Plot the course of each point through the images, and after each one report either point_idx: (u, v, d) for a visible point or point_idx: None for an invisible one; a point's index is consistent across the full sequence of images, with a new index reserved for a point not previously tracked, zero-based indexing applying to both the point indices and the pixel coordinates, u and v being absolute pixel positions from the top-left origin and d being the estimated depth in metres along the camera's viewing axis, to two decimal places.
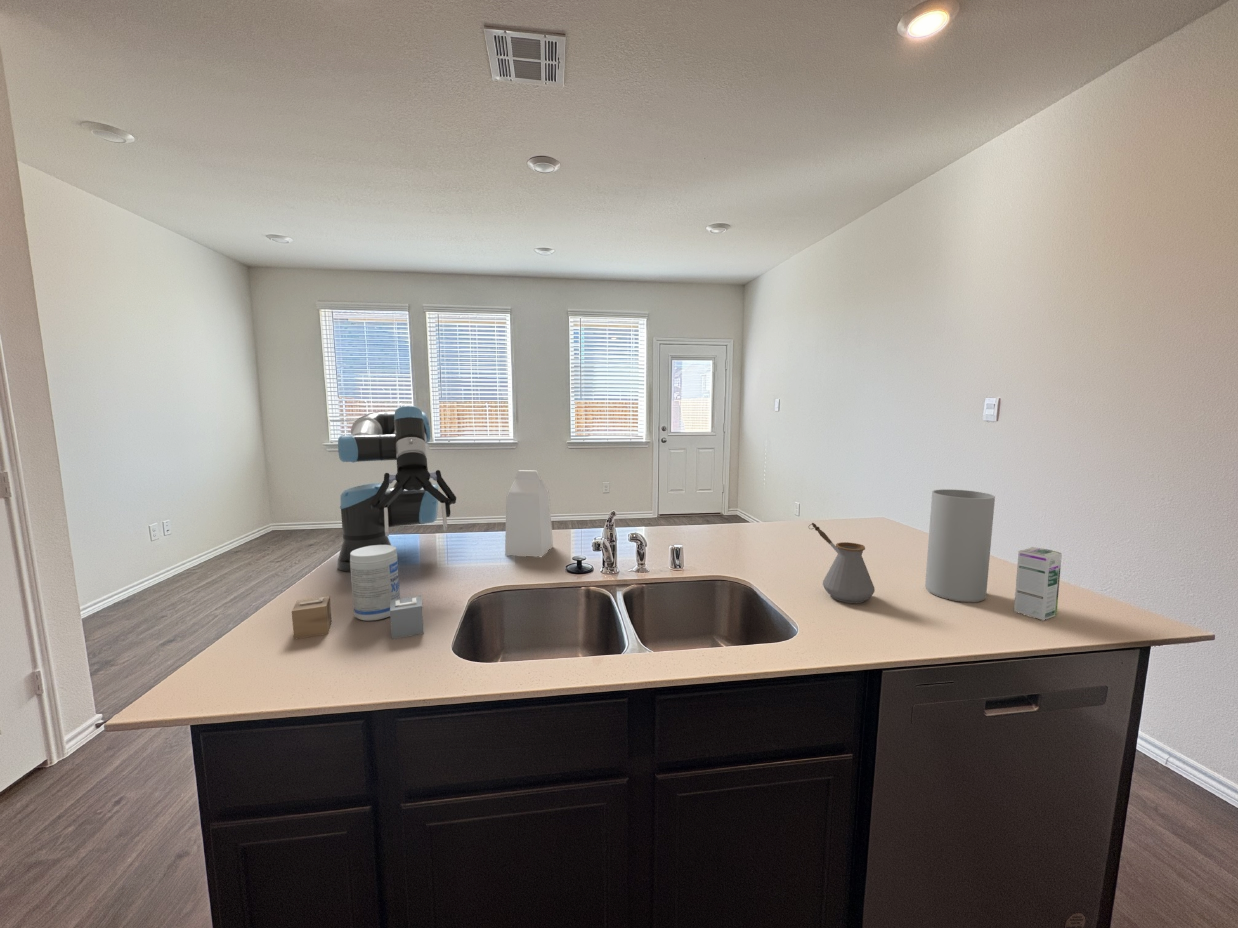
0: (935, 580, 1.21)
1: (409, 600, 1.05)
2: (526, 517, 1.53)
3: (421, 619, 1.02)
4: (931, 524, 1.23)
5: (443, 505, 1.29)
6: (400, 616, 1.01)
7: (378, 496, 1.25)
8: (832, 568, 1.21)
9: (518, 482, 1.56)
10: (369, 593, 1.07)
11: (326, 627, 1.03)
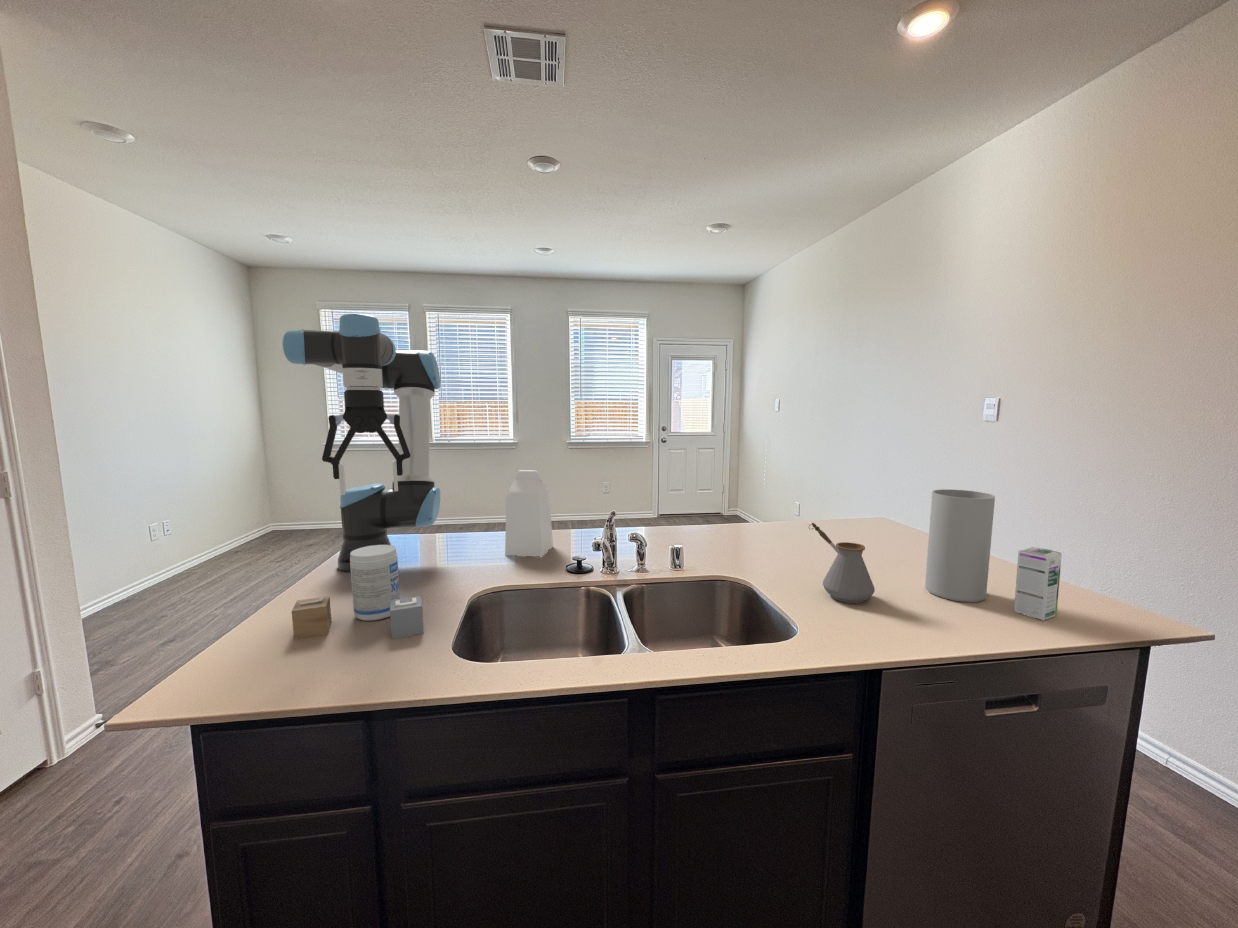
0: (935, 580, 1.21)
1: (409, 600, 1.05)
2: (526, 517, 1.53)
3: (421, 619, 1.02)
4: (931, 524, 1.23)
5: (394, 465, 1.10)
6: (400, 616, 1.01)
7: (328, 448, 1.04)
8: (832, 568, 1.21)
9: (518, 482, 1.56)
10: (369, 593, 1.08)
11: (326, 627, 1.03)
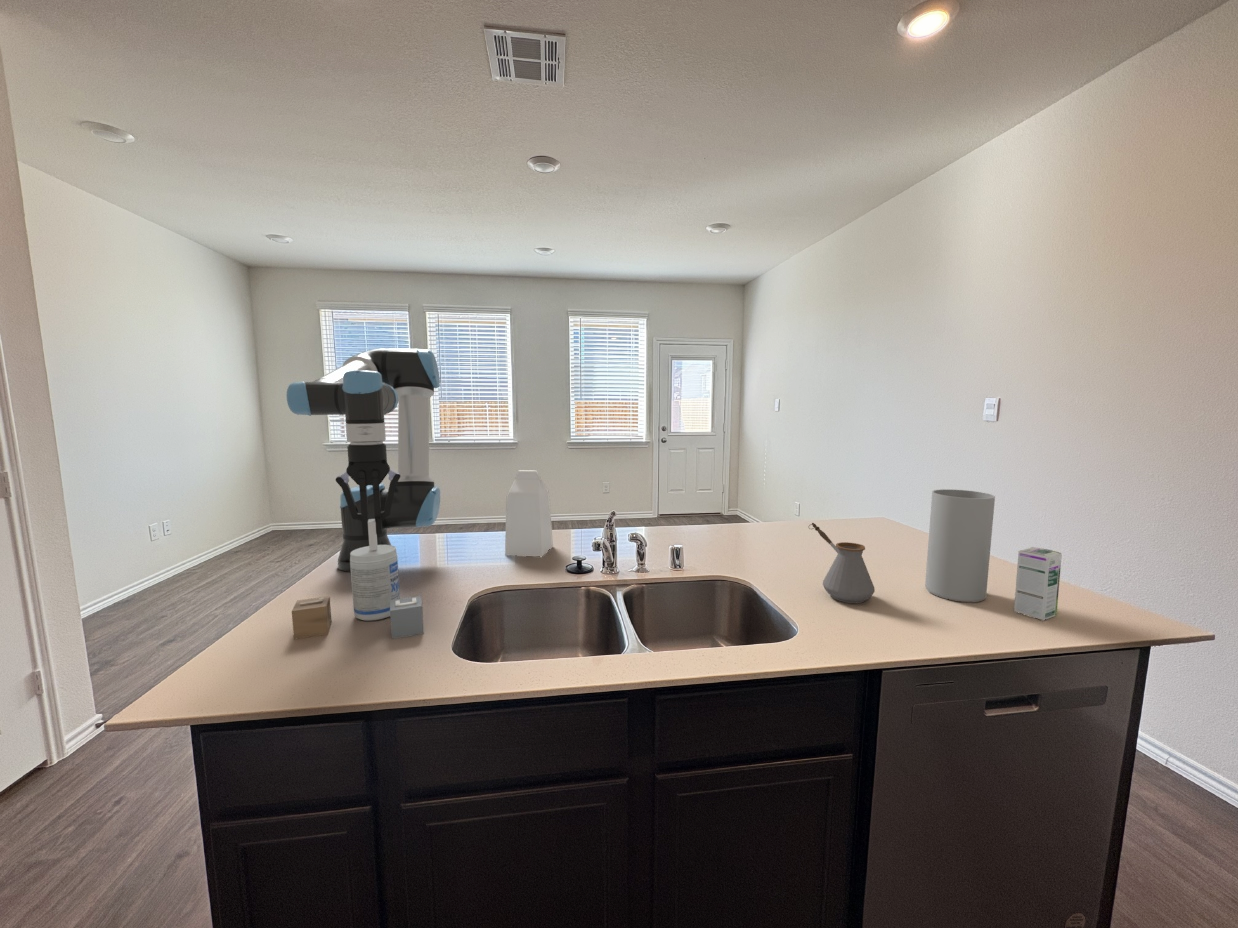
0: (935, 580, 1.21)
1: (409, 600, 1.05)
2: (526, 517, 1.53)
3: (421, 619, 1.02)
4: (931, 524, 1.23)
5: (373, 524, 1.09)
6: (400, 616, 1.01)
7: (352, 506, 1.07)
8: (832, 568, 1.21)
9: (518, 482, 1.56)
10: (369, 593, 1.07)
11: (326, 627, 1.03)
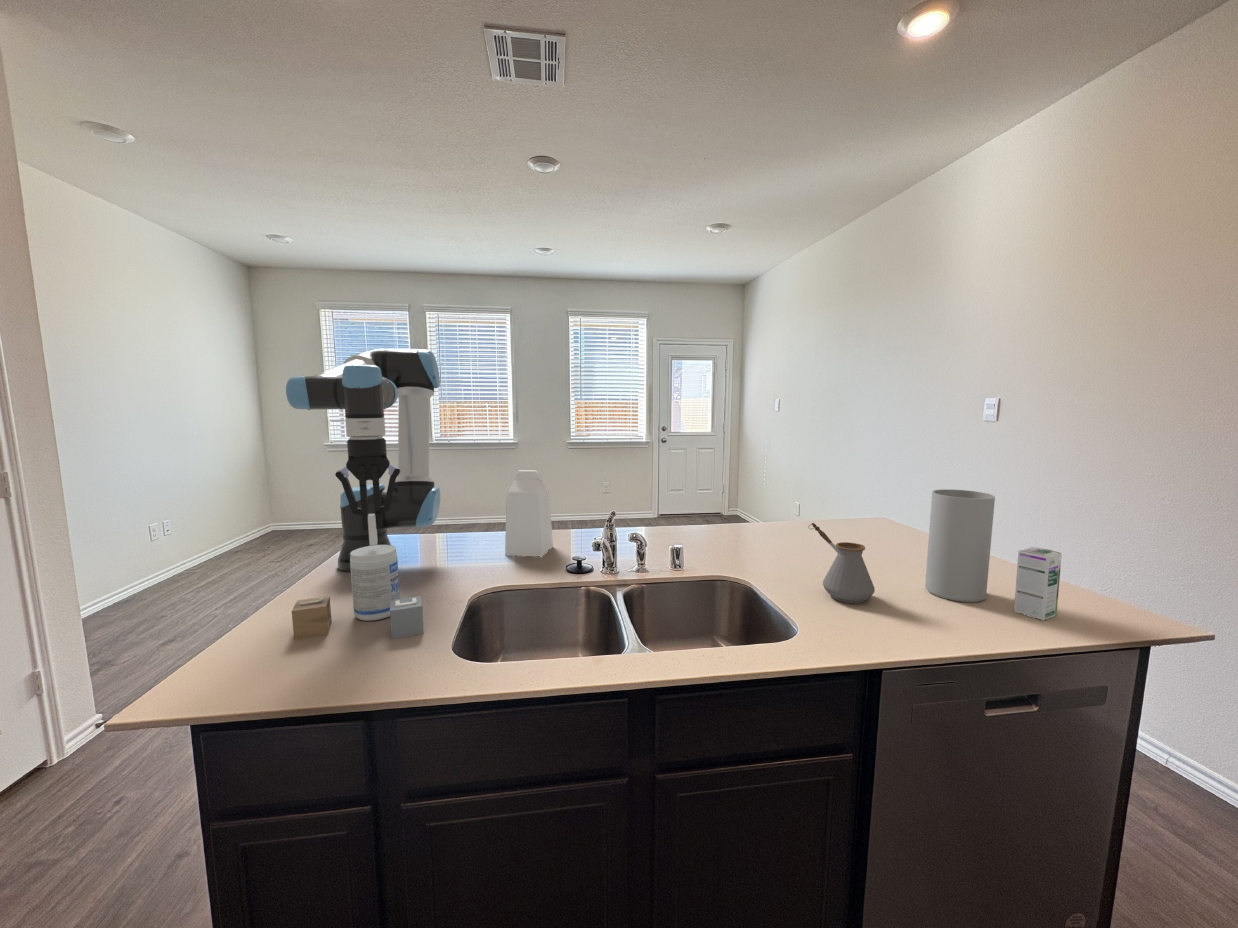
0: (935, 580, 1.21)
1: (409, 600, 1.05)
2: (526, 517, 1.53)
3: (421, 619, 1.02)
4: (931, 524, 1.23)
5: (373, 519, 1.09)
6: (400, 616, 1.01)
7: (352, 501, 1.07)
8: (832, 568, 1.21)
9: (518, 482, 1.56)
10: (369, 593, 1.07)
11: (326, 627, 1.03)
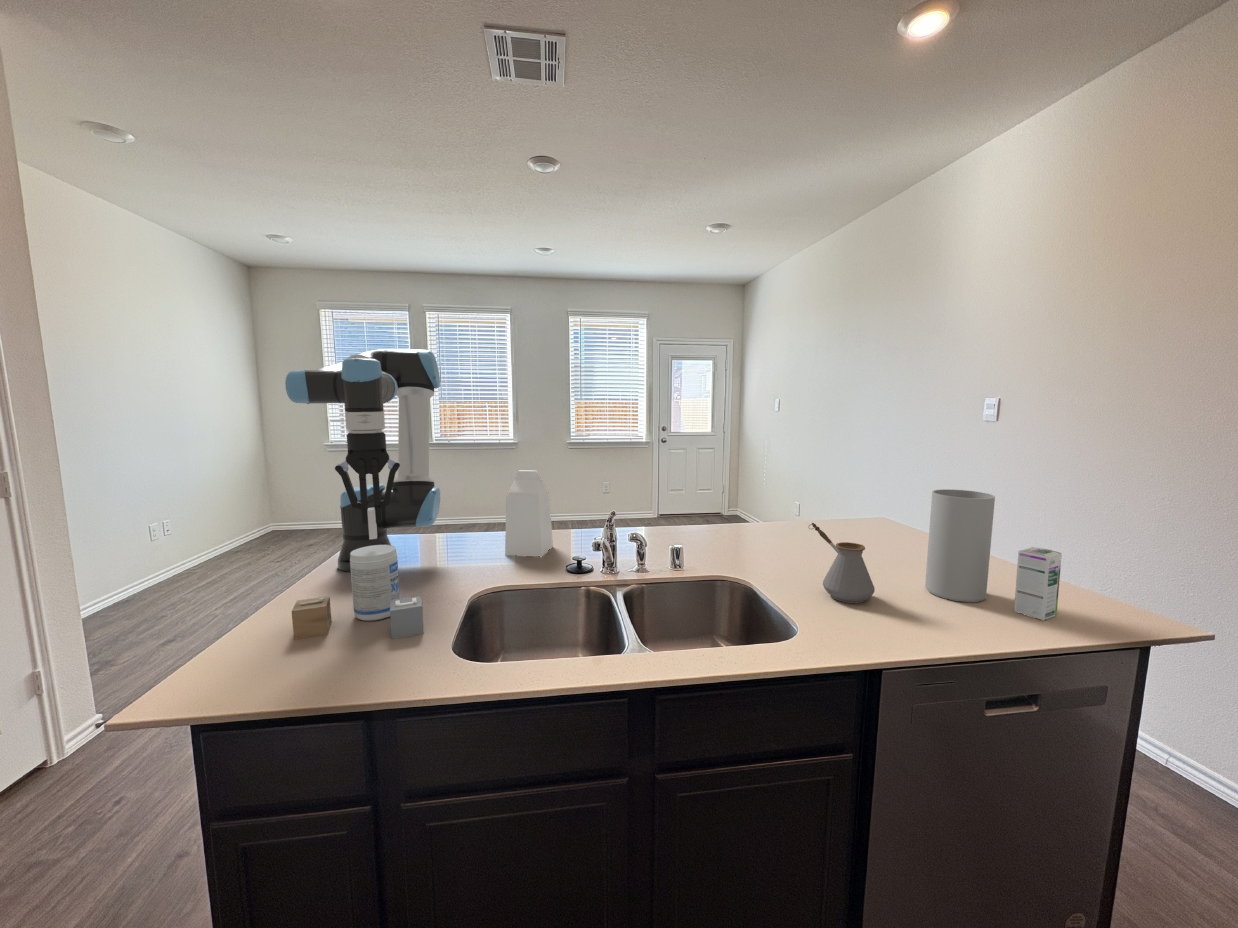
0: (935, 580, 1.21)
1: (409, 600, 1.05)
2: (526, 517, 1.53)
3: (421, 619, 1.02)
4: (931, 524, 1.23)
5: (372, 513, 1.09)
6: (400, 616, 1.01)
7: (352, 495, 1.07)
8: (832, 568, 1.21)
9: (518, 482, 1.56)
10: (369, 593, 1.08)
11: (326, 627, 1.03)
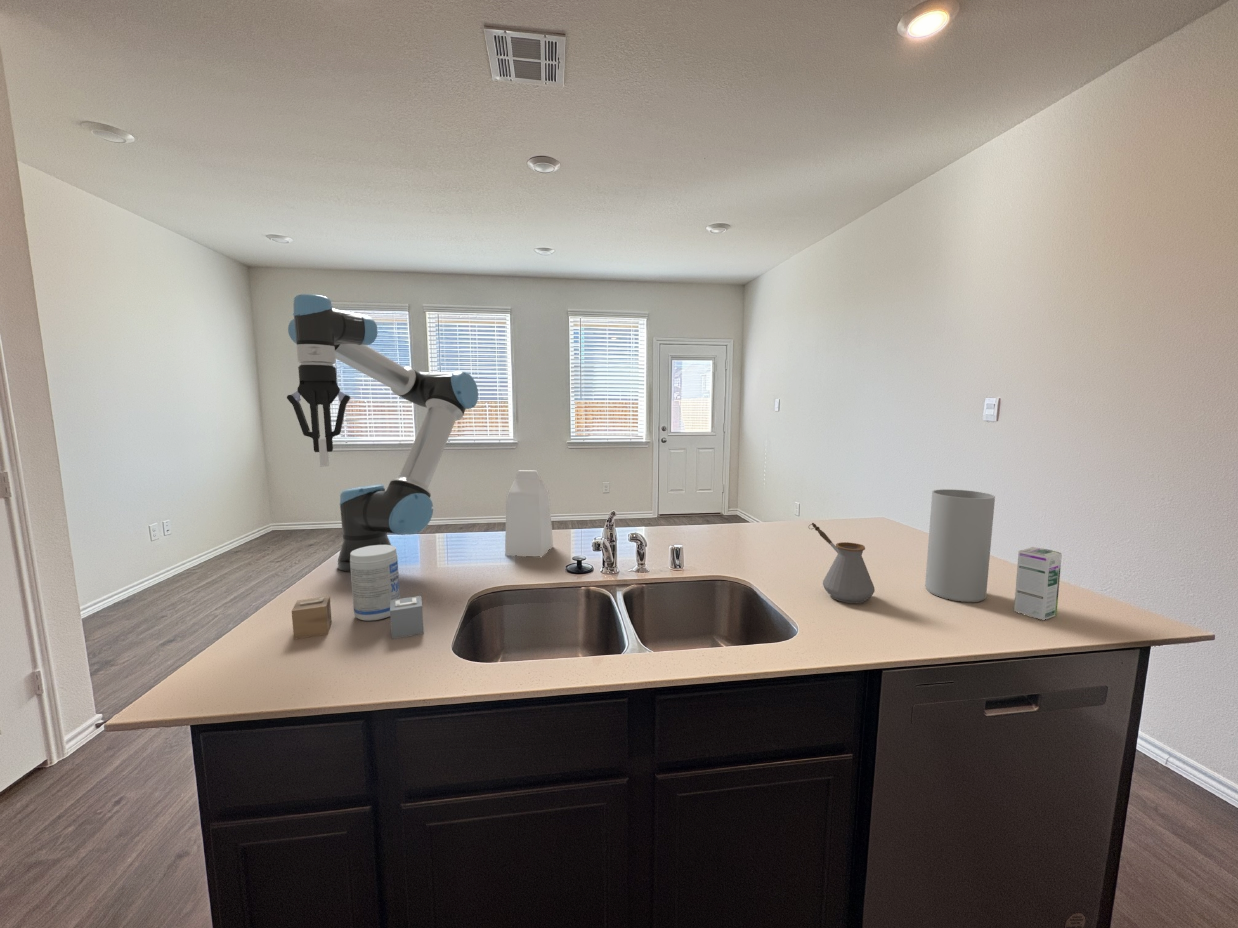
0: (935, 580, 1.21)
1: (409, 600, 1.05)
2: (526, 517, 1.53)
3: (421, 619, 1.02)
4: (931, 524, 1.23)
5: (323, 441, 1.17)
6: (400, 616, 1.01)
7: (303, 423, 1.15)
8: (832, 568, 1.21)
9: (518, 482, 1.56)
10: (369, 593, 1.07)
11: (326, 627, 1.03)
